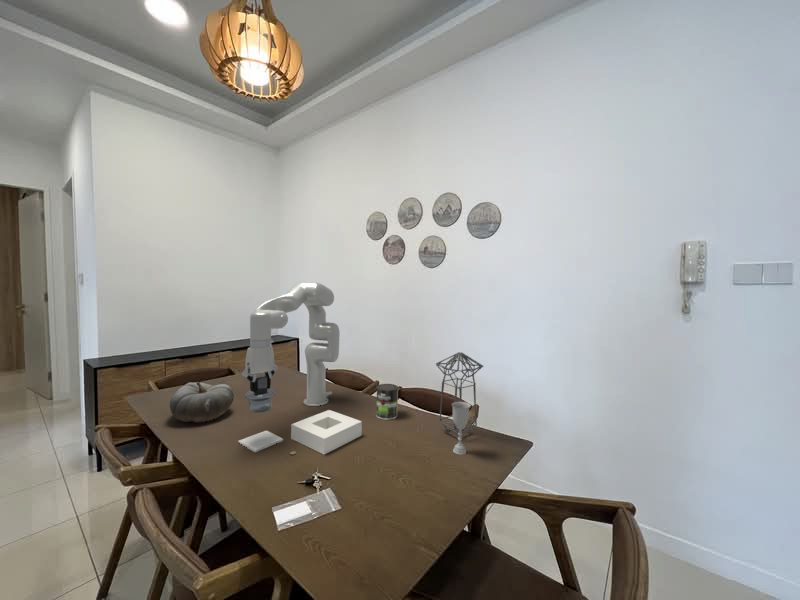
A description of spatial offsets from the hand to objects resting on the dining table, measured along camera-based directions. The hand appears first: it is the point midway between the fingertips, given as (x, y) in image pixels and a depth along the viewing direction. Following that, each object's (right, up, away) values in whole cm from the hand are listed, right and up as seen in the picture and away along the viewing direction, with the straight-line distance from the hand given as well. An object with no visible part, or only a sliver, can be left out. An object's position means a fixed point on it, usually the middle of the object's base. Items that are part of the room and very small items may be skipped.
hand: (260, 389), depth 131 cm
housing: (+25, -21, +6) cm, 33 cm away
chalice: (+77, -23, -3) cm, 81 cm away
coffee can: (+48, -21, +30) cm, 61 cm away
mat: (0, -21, +1) cm, 21 cm away
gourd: (-37, -20, +24) cm, 48 cm away
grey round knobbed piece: (0, -8, 0) cm, 8 cm away
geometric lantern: (+79, -22, +13) cm, 83 cm away
